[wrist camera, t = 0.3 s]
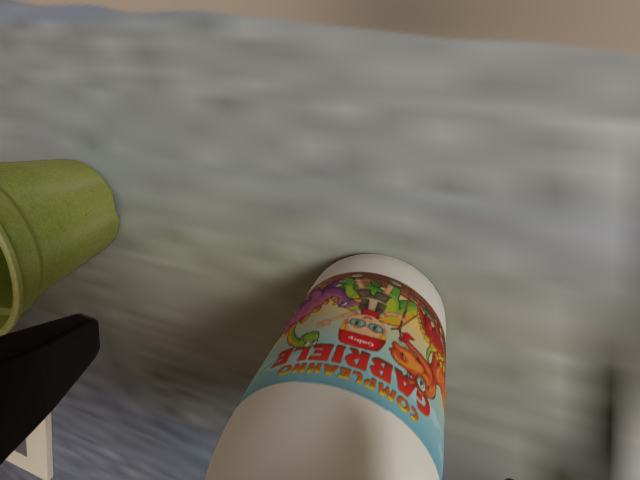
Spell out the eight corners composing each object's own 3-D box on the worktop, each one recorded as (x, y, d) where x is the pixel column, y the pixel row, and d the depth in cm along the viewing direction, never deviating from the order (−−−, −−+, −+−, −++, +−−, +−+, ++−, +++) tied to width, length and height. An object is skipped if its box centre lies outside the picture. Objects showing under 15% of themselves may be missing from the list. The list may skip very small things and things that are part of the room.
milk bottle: (446, 373, 24) (435, 1229, 6) (318, 361, 26) (46, 964, 9) (446, 249, 21) (428, 1122, 4) (304, 248, 24) (-134, 780, 6)
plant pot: (8, 210, 29) (-151, 260, 22) (45, 97, 25) (-137, 109, 17) (112, 295, 29) (-8, 374, 22) (166, 198, 25) (41, 254, 17)
